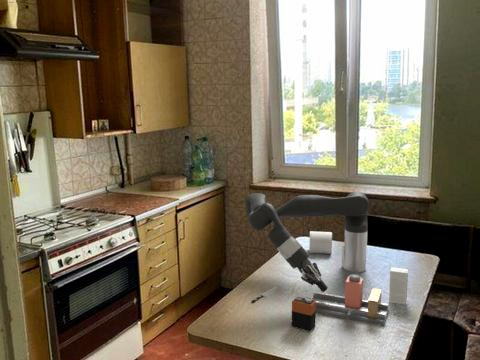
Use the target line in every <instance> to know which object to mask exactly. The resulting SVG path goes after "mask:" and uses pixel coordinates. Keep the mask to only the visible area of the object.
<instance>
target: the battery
mask: <svg viewBox="0 0 480 360" xmlns="http://www.w3.org/2000/svg"><path fill="white" fill-rule="evenodd" d="M316 314H317V313H316V301H315V300H312V297H302V296H299V295H298V296H296V297H294V298H293V299H292V301H291V327H292V328H295V329H299V330H303V331H307V332H312V331H313V329H314V328H315V327H316V317H317V316H316Z"/></svg>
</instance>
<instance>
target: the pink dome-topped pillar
mask: <svg viewBox="0 0 480 360" xmlns="http://www.w3.org/2000/svg"><path fill="white" fill-rule="evenodd" d="M344 290H345V292H344V297H345V306H348V307H354V308H359V309H361V307H362V300H363V293H364V292H363V291H364V278H363V277H361V276H360V275H359V274H350V275H347V278H346V280H345V289H344Z"/></svg>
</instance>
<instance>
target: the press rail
mask: <svg viewBox="0 0 480 360" xmlns="http://www.w3.org/2000/svg"><path fill="white" fill-rule="evenodd" d="M382 291H383V290H382V289H380V288H372V289H371V291H370V292H371V293H370V294H369V297H368V300H366V299H362V307H361V309H359V308H354V307H348V306H345V295H343V296H342V295H337V294H331V293H326V292H325V293H324V292H319V291H313V293H312V297H311V299H312V300H315V301H316V314H321V315H325V316H330V317H331V316H332V317H336V318H341V319H346V320H351V321H357V322H363V323H367V324H372V325H378V326H385V324H386V320H387V317H388V313H389V309H390V308H389V303H384V302H382Z"/></svg>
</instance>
